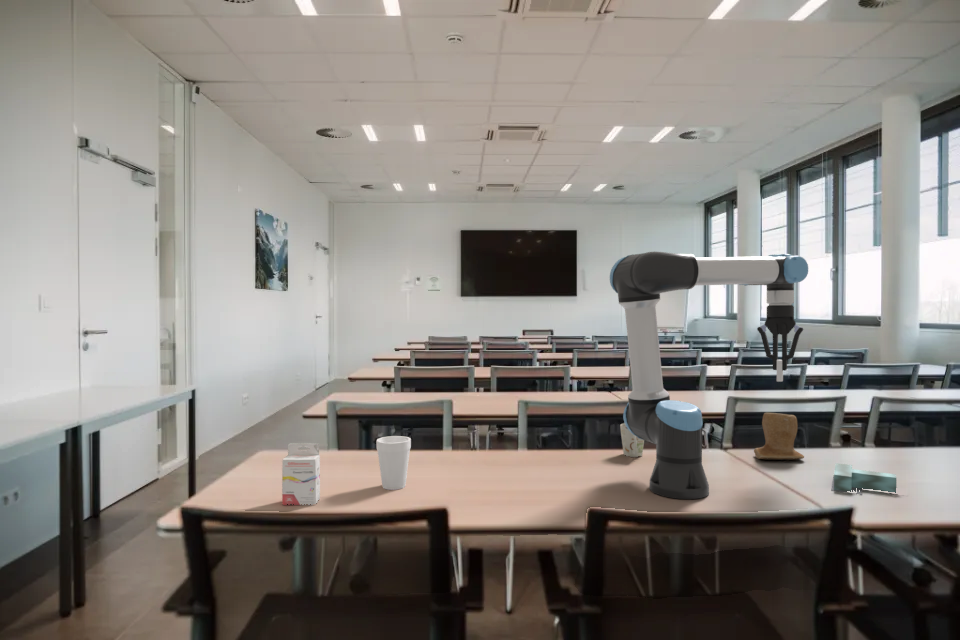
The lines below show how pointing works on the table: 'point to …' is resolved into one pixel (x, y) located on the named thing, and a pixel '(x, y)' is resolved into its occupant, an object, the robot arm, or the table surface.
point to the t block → (862, 479)
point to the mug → (631, 443)
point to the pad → (846, 491)
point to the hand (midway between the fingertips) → (779, 380)
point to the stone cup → (778, 437)
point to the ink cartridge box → (301, 475)
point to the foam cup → (393, 460)
